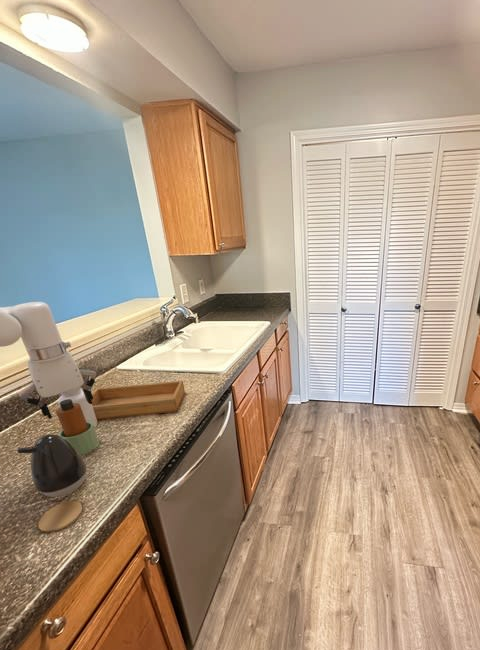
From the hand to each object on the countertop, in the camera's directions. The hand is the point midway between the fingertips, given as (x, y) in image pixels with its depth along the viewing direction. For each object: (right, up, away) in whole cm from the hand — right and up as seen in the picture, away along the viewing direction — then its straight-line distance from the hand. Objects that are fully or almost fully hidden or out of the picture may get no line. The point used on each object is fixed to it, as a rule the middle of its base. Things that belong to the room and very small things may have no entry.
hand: (70, 409), depth 89 cm
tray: (+5, -3, +27) cm, 27 cm away
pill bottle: (-6, -8, +15) cm, 18 cm away
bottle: (0, -11, +5) cm, 12 cm away
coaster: (+11, -21, -18) cm, 30 cm away
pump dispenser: (+6, -18, -10) cm, 22 cm away
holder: (0, -12, +5) cm, 13 cm away
